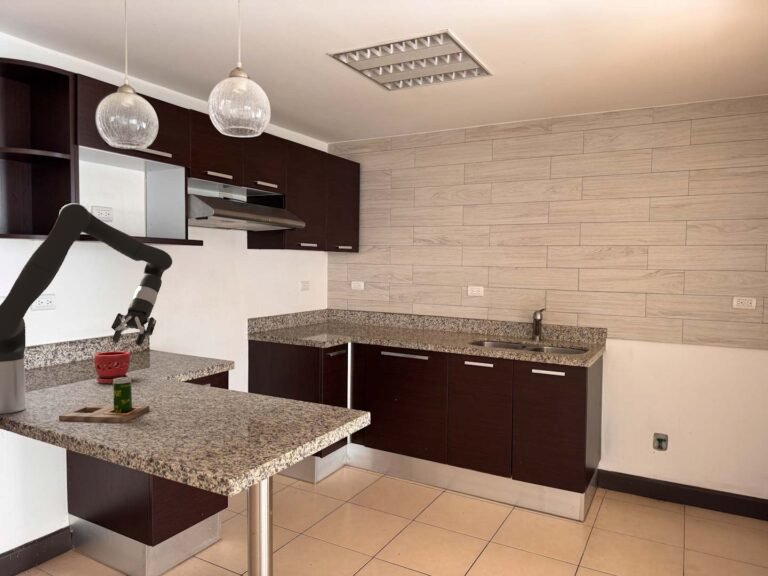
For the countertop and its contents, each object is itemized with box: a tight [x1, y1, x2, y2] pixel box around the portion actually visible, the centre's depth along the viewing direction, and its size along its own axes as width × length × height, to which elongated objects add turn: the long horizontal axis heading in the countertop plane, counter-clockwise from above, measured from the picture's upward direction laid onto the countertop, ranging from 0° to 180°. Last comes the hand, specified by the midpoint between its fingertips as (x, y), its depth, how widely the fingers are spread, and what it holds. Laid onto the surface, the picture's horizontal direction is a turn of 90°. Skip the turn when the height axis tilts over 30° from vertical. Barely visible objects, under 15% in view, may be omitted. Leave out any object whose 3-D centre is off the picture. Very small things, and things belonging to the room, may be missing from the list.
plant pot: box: [93, 351, 131, 384], centre depth 229 cm, size 13×13×12 cm
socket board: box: [58, 403, 150, 423], centre depth 178 cm, size 22×14×2 cm, turn 83°
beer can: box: [112, 376, 133, 413], centre depth 178 cm, size 5×5×12 cm
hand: (126, 343), depth 190 cm, fingers open, 8 cm apart
